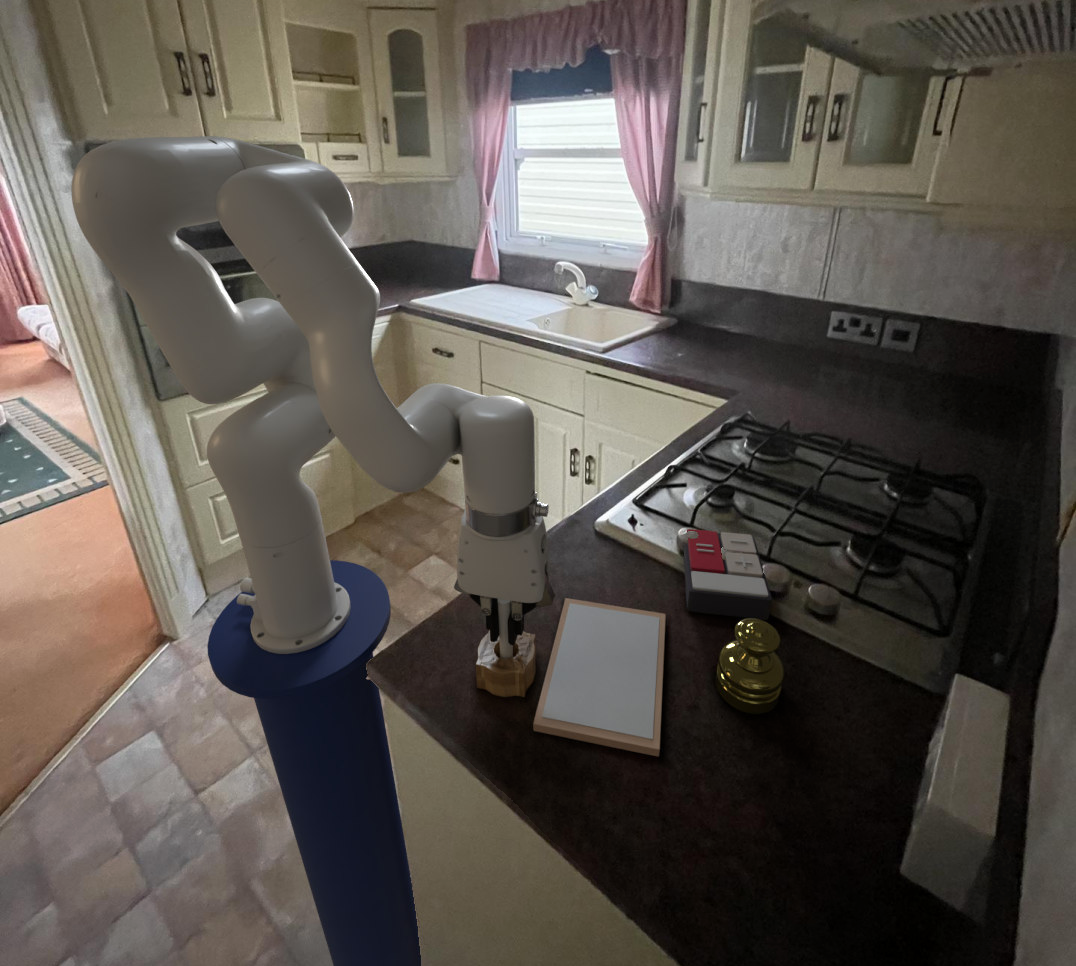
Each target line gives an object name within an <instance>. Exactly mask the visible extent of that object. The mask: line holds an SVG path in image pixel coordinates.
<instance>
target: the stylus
mask: <svg viewBox="0 0 1076 966" xmlns="http://www.w3.org/2000/svg"><path fill="white" fill-rule="evenodd" d="M511 609H512V601H510V600H503V599H498V620H499V642H500V659H505V660H506V659H511V658H513V645H510V644H509V643H508V623H507V622H508V618H509V615H510V612H511Z"/></svg>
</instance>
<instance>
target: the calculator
mask: <svg viewBox="0 0 1076 966" xmlns="http://www.w3.org/2000/svg"><path fill="white" fill-rule="evenodd" d="M686 530H687V532H688V531H695V532H697V533H698V535H699V536H698V538H696V539H695V538H694V539H690V538H688V545H687V544H685V548H684V557H683V556H682V564H683V572H684V573H683V574H684V581H685V601H686V609H687V611H688V612H691V613H692V612H693V613H700V614H709V615H718V616H725V617H726V616H727V617H734V618H735V617H736V618H743V619H747V618H755V619H759V620H763V621H767V620H769V617H770V612H771V608H772V603H773V598H772V593H771V590H770V587H769V584H768V580H767V576H766V573H765V572H764V573H765V574H764V573H763V569H764V566H763V563H762V560H761V555H760V552H759V549H758V547H757V542H756V540H755V537H754V536H753V535H751V534H747V533H736V532H726V531H722V532H720V533H719V532H717V531H714V530H704V529H692V528H687V529H686ZM722 547H723V548H724V550H727V551H734V552H735V551H736V552H742V553H733V552H725V557H726V560H723V559H722V553H721V548H722Z"/></svg>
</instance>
